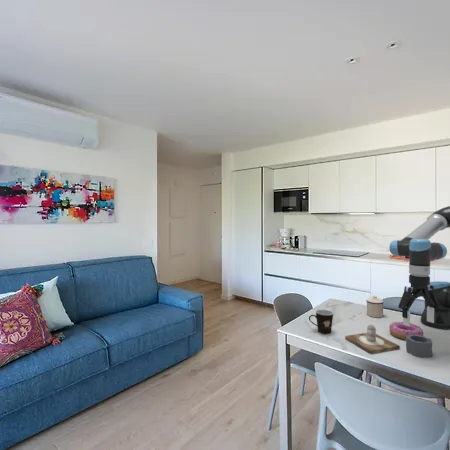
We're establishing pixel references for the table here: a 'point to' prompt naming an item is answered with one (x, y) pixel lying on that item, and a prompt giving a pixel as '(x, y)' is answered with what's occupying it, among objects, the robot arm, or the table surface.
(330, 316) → the coffee mug
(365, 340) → the post stand
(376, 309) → the teacup with lid
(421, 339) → the ring
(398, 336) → the donut
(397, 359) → the table surface
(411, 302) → the robot arm
